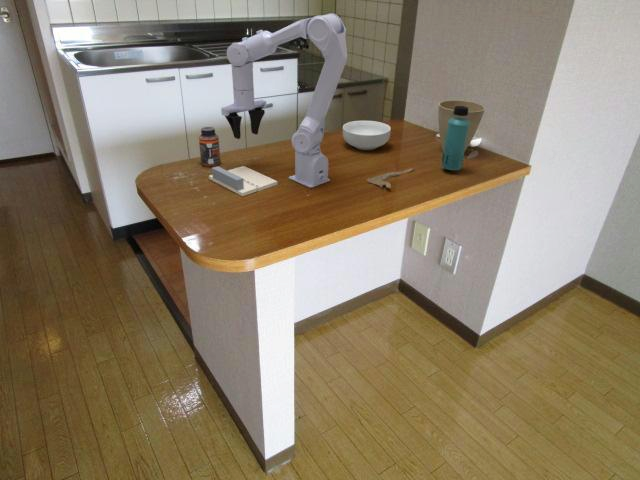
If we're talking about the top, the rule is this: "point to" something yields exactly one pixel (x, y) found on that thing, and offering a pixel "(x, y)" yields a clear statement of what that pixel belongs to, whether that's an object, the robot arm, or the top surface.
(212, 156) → the supplement bottle
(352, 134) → the cereal bowl
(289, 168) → the top surface
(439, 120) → the plant pot
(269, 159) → the top surface
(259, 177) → the ticket
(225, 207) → the top surface
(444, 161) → the beverage bottle
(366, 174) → the top surface
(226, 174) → the stub
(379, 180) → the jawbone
